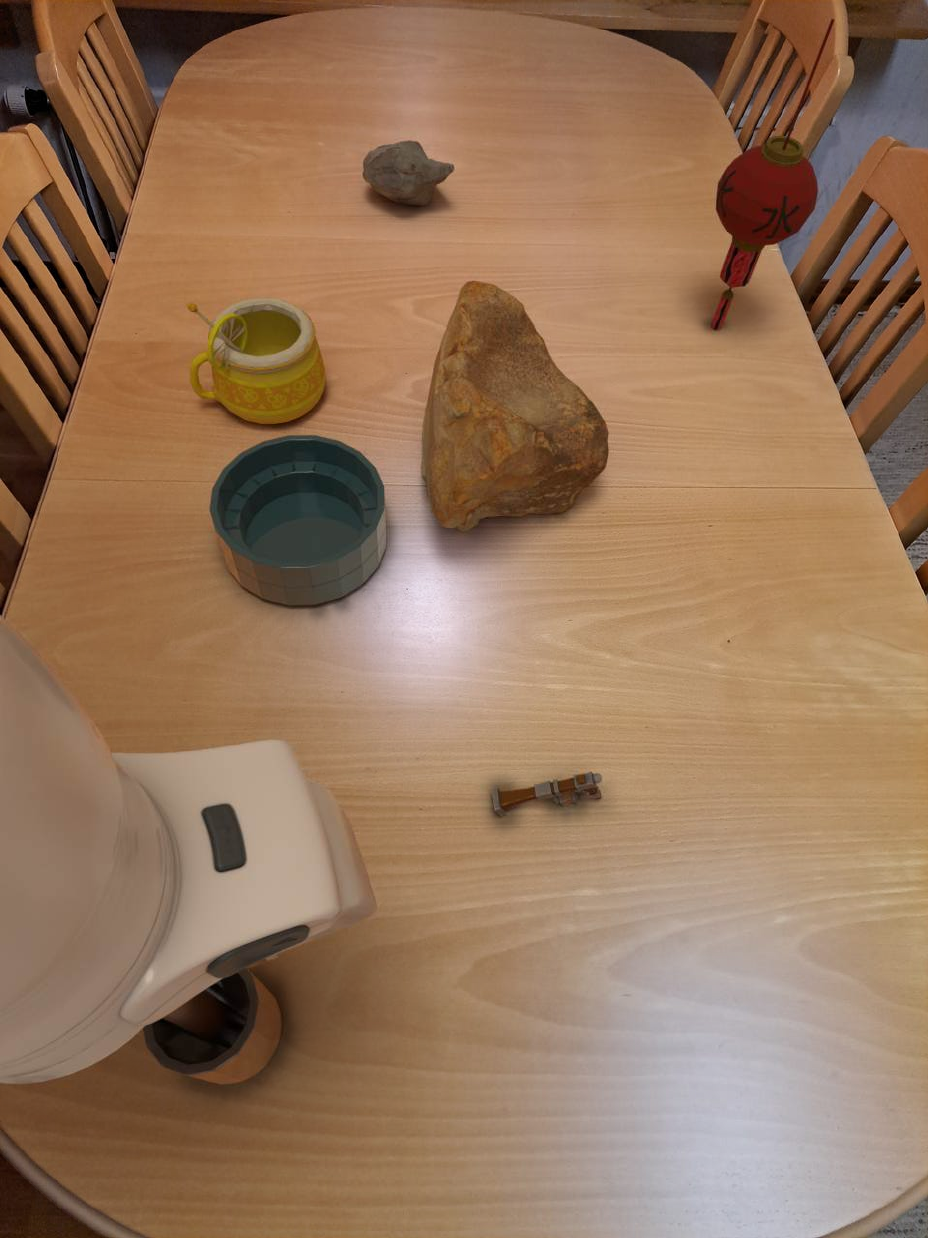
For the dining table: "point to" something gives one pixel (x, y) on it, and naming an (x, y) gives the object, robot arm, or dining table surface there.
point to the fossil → (404, 172)
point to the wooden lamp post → (549, 792)
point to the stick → (209, 1019)
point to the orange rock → (504, 418)
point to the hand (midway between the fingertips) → (153, 985)
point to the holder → (210, 1058)
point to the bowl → (300, 519)
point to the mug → (262, 361)
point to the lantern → (763, 202)
